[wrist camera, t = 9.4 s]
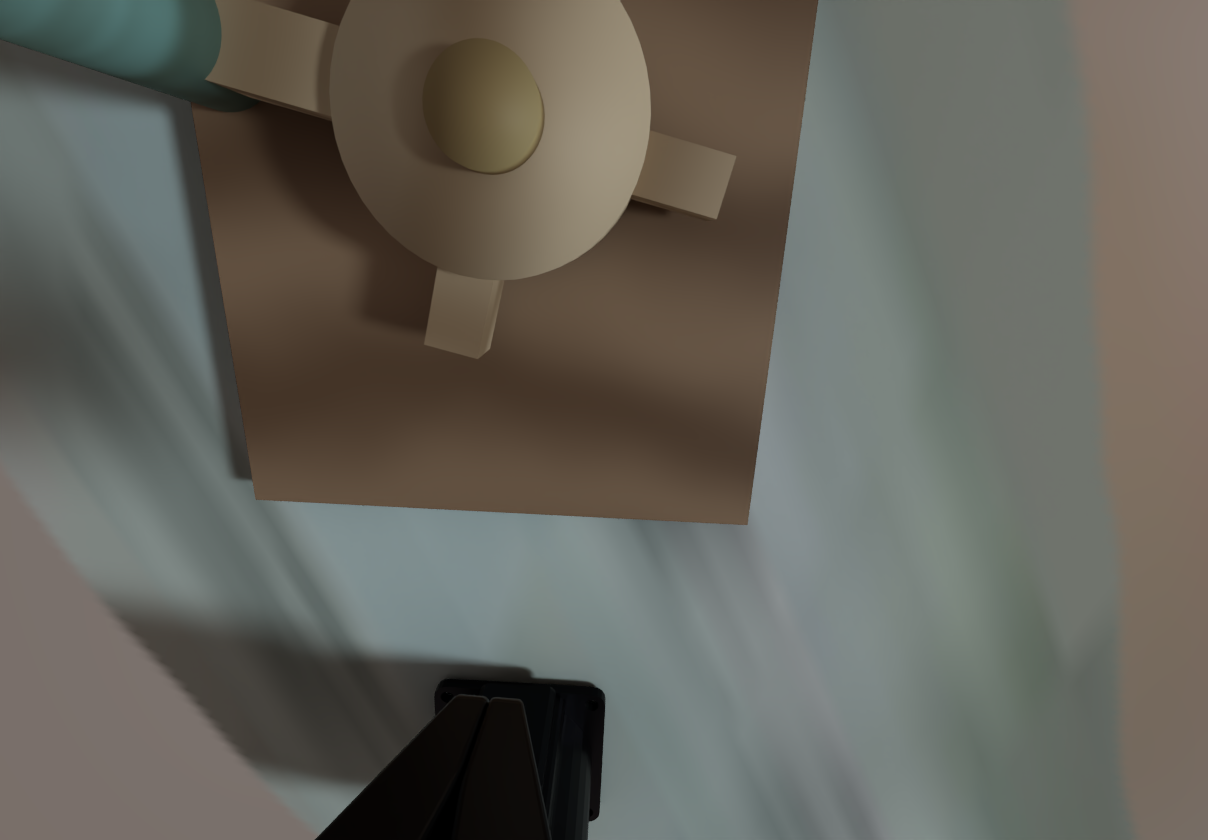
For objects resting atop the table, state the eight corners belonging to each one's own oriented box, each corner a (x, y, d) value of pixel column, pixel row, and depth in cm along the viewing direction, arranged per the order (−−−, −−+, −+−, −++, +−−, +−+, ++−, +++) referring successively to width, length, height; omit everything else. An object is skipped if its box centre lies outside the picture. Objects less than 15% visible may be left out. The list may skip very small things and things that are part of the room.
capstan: (788, -49, 13) (941, -314, 7) (653, 389, 16) (672, 479, 10) (170, -248, 12) (-291, -749, 6) (159, 254, 16) (-147, 262, 9)
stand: (739, 507, 19) (788, 616, 14) (277, 484, 19) (138, 581, 14) (840, -273, 13) (1003, -657, 7) (161, -294, 13) (-171, -682, 8)
